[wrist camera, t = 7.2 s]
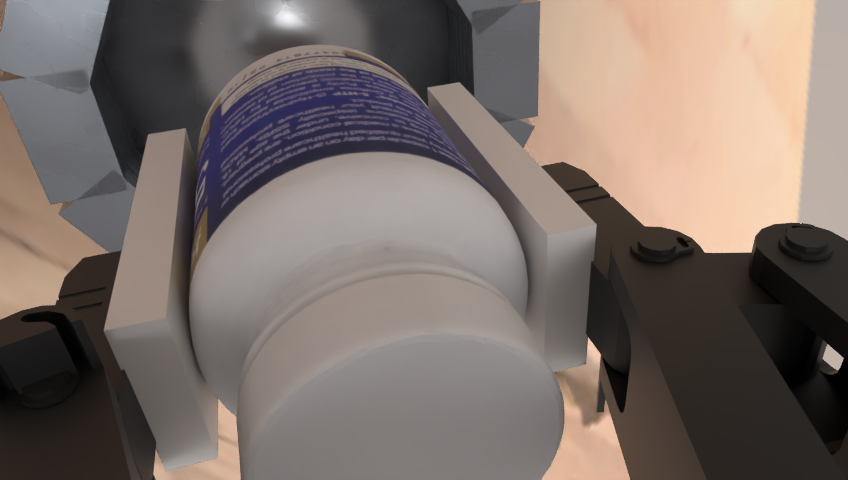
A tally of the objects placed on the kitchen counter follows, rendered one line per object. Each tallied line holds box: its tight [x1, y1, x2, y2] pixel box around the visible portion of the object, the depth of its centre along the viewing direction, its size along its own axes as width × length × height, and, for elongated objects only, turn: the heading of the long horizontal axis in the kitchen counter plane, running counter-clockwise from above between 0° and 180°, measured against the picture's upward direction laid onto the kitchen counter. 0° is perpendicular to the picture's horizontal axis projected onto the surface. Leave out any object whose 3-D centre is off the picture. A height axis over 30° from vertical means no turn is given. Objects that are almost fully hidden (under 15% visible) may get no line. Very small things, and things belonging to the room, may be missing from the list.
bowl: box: [0, 0, 540, 253], centre depth 19 cm, size 15×15×4 cm
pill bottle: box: [189, 45, 564, 480], centre depth 11 cm, size 5×5×9 cm
